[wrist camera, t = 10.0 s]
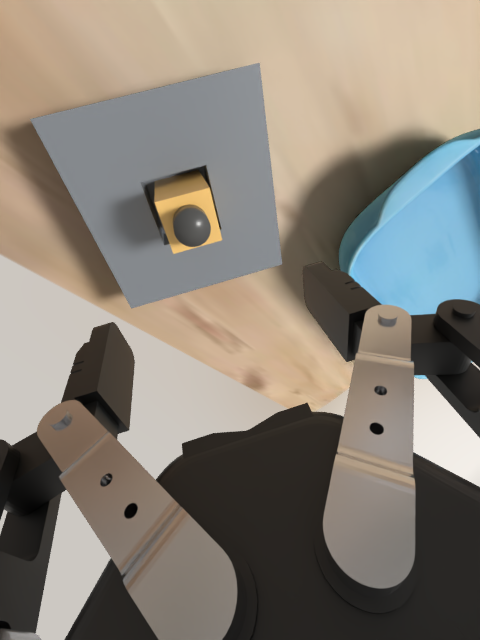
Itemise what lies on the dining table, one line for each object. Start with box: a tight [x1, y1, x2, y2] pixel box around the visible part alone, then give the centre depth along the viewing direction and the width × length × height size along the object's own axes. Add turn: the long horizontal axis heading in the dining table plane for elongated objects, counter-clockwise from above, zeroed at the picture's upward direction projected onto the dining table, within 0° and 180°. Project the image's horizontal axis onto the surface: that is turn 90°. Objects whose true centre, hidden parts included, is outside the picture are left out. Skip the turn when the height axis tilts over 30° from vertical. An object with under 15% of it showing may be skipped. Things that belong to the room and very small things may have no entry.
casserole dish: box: [339, 129, 480, 379], centre depth 38 cm, size 37×22×7 cm, turn 42°
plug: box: [154, 170, 222, 254], centre depth 24 cm, size 4×4×8 cm
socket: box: [30, 63, 282, 308], centre depth 26 cm, size 16×16×4 cm
